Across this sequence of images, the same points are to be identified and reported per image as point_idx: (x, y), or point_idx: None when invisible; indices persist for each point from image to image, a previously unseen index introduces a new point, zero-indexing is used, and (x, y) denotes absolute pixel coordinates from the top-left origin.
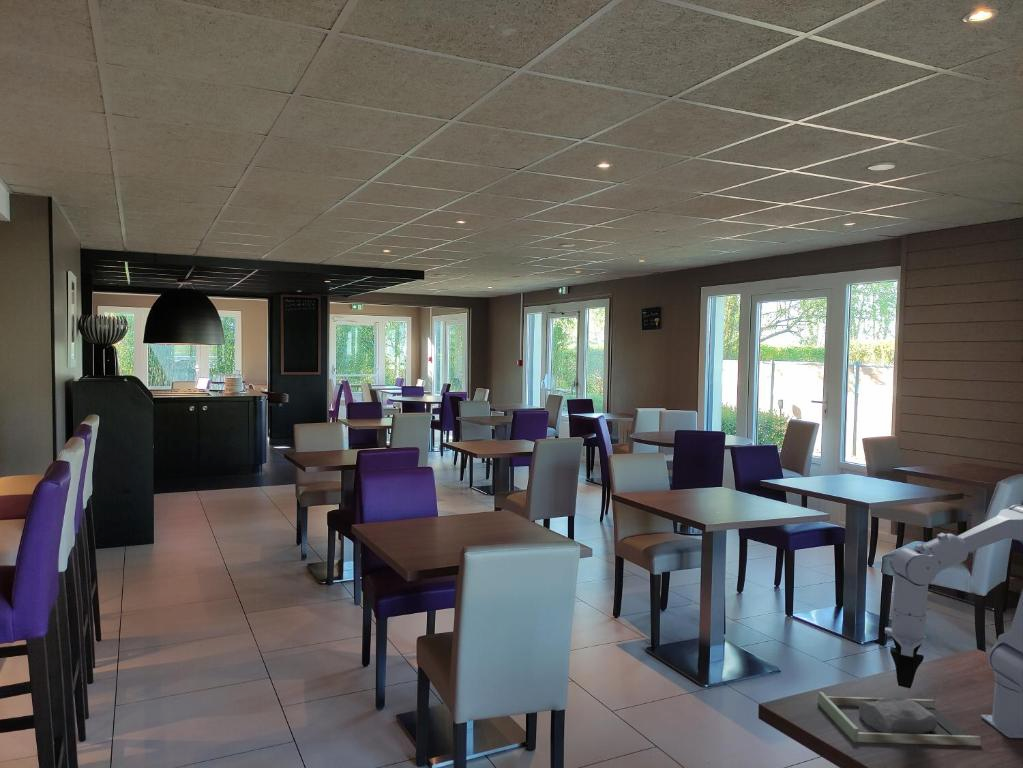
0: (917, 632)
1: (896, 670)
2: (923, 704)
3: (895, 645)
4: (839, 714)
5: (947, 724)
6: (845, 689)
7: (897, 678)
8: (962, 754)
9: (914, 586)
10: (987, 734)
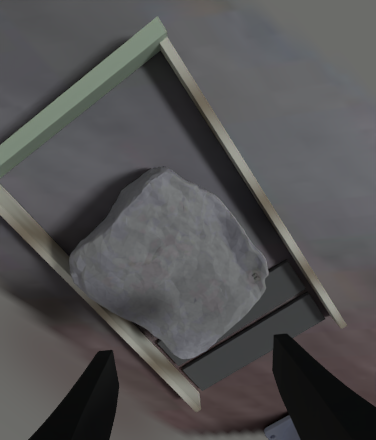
0: None
1: (52, 413)
2: (322, 301)
3: (346, 436)
4: (28, 122)
5: (249, 346)
6: (329, 102)
7: (82, 374)
8: (128, 374)
9: None
10: (258, 400)
